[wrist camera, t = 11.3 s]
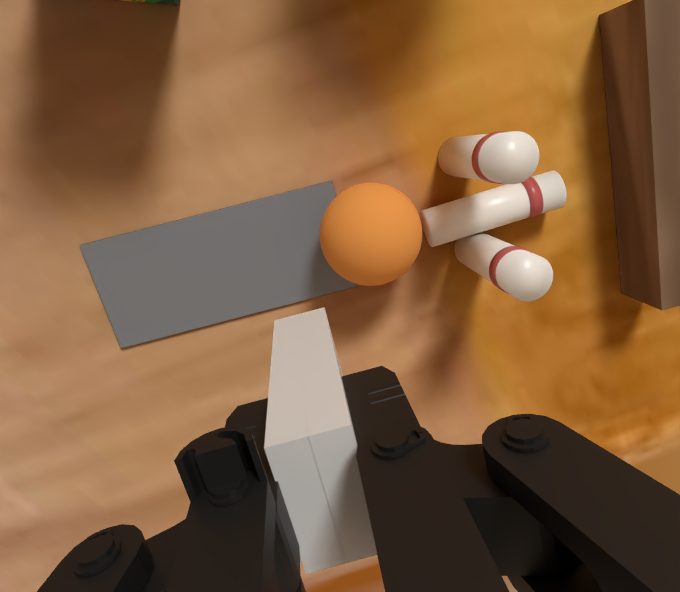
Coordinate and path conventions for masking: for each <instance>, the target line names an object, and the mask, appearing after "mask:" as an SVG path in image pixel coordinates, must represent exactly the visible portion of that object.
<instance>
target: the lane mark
mask: <svg viewBox="0 0 680 592" xmlns="http://www.w3.org/2000/svg"><path fill="white" fill-rule="evenodd" d="M335 197H336V195H335V191H334V186H333V182H332V181H328V182H325V183H321V184H317V185H313V186H309V187H305V188H301V189H297V190H293V191H290V192H286V193H282V194H278V195H274V196H270V197H266V198H262V199H259V200H255V201H251V202H247V203H243V204H239V205H235V206H231V207H227V208H224V209H220V210H216V211H212V212H208V213H204V214H200V215H196V216H193V217H189V218H185V219H181V220H177V221H173V222H169V223H165V224H161V225H158V226H154V227H150V228H146V229H142V230H138V231H134V232H130V233H126V234H123V235H119V236H115V237H111V238H107V239H103V240H99V241H95V242H92V243H88V244H84V245H80V248H81V250H82V253H83V255H84V258H85V260H86V263H87V265H88V268H89V270H90V273H91V275H92V278H93V280H94V283H95V285H96V288H97V290H98V293H99V295H100V297H101V300H102V302H103V305H104V307H105V310H106V312H107V315H108V317H109V320H110V322H111V325H112V327H113V330H114V332H115V335H116V337H117V340H118V342H119V344H120V347H121V348H124V347H128V346H132V345H136V344H139V343H143V342H147V341H151V340H155V339H158V338H162V337H166V336H170V335H174V334H177V333H181V332H185V331H189V330H193V329H196V328H200V327H204V326H208V325H212V324H215V323H219V322H223V321H227V320H231V319H234V318H238V317H242V316H246V315H250V314H253V313H257V312H261V311H265V310H269V309H272V308H276V307H280V306H284V305H288V304H291V303H295V302H299V301H303V300H307V299H310V298H314V297H318V296H322V295H326V294H329V293H333V292H337V291H341V290H345V289H348V288H352V287H356V286H358V285H357V284H356V283H352V282H350V281H348V280H346V279H344V278H343V277H341V276H340V275H339V274H337V273H336V272H335V271H334V270H333V269H332V267H331V266H330V265H329V263H328V262H327V260H326V258H325V256H324V254H323V251H322V248H321V244H320V225H321V221H322V218H323V215H324V213H325V211H326V209H327V207H328V206H329V204H330V203H331V201H332V200H333V199H334V198H335Z"/></svg>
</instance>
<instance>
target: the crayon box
mask: <svg viewBox="0 0 680 592" xmlns="http://www.w3.org/2000/svg"><path fill="white" fill-rule="evenodd" d="M120 1H132V2H145V3H157V4H171V5H180V0H120Z"/></svg>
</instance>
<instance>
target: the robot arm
mask: <svg viewBox="0 0 680 592" xmlns="http://www.w3.org/2000/svg"><path fill="white" fill-rule="evenodd" d="M174 462H175V464H176V467H177V469H178V472H179V474H180V477H181V479H182V482H183V484H184V487H185V489H186V492H187V494H188V497H189V499H190V502H191V503H190V506H189V510H188V514H187V517H186V519H185V520H183V521H182V522H180V523H178V524H176V525H175V526H173V527H171V528H169V529H167V530H165V531H163V532H161V533H159V534H157V535H155V536H153V537H151V538H149V539H147V540H145V539H144V536H143V534H142V532H141V530H139V529H138V528H137V527H135V526H134V525H123V524H121V525H117V526H113V527H109V528H106V529H103V530H101V531H99V532H98V533H97V532H96V533H94V534H93V535H91V536H89V537H88V538H87V539H85V540H84V541H83V542H81V543H80V544H78V545H77V546H76V547H74V548H73V549H72V550H71V551H70V552H69V553H68V554H67V556H66V557H65V558H64V559H63V560H62V561H61V562H60V563H59V564H58V566H57V567H56V568H55V569H54V571H53V572H52V573H51V575H50V576H49V577H48V578H47V580H46V581H45V582H44V583H43V585H42V586H41V587H40V588H39V590H38V591H37V592H306V591H305V588H304V585H303V582H302V579H301V576H300V557H301V560H302V563H303V566H304V569H305V572H306V574H309V573H312V572H316V571H320V570H323V569H327V568H330V567H334V566H338V565H341V564H345V563H348V562H352V561H356V560H359V559H363V558H366V557H370V556H374V555H378V560H379V564H380V569H381V573H382V578H383V583H384V587H385V592H509V590H508V588H507V586H506V584H505V582H504V580H503V578H502V576H508V578H509V580H510V582H511V583H512V585H513V586H514V588H515V589H516V590H517V591H518V592H680V495H679V494H677V493H676V492H674V491H673V490H671V489H669V488H668V487H666V486H664V485H663V484H661V483H659V482H658V481H656V480H654V479H653V478H651V477H650V476H648V475H646V474H645V473H643V472H641V471H640V470H638V469H636V468H635V467H633V466H631V465H630V464H628V463H626V462H625V461H623V460H621V459H620V458H618V457H617V456H615V455H613V454H612V453H610V452H608V451H607V450H605V449H603V448H602V447H600V446H598V445H597V444H595V443H593V442H592V441H590V440H588V439H587V438H585V437H584V436H582V435H580V434H579V433H577V432H575V431H574V430H572V429H570V428H569V427H567V426H565V425H564V424H562V423H560V422H558V421H556V420H554V419H551V418H549V417H546V416H541V415H534V414H521V415H519V414H518V415H512V416H508V417H505V418H502V419H499V420H497V421H496V422H494V423H492V424H491V425H489V426H488V427H487V429H486V430H485V432H484V433H483V435H482V444H474V445H451V444H446V443H441V442H439V441H436V440H434V439H433V437H432V436H431V434H430V433H429V432H428V431H427V430H426V429H425V428H422V427H420V425H419V422H418V420H417V418H416V416H415V414H414V412H413V410H412V408H411V406H410V404H409V402H408V399H407V397H406V395H405V394H404V391H403V389H402V387H401V386H400V383H399V381H398V379H397V376H396V374H395V373H394V372H392V371H390V370H389V369H387V368H385V367H383V366H380V367H376V368H372V369H368V370H365V371H361V372H357V373H353V374H350V375H346V376H343V375H342V371H341V367H340V363H339V360H338V356H337V352H336V348H335V345H334V341H333V337H332V333H331V330H330V326H329V322H328V319H327V315H326V311H325V307H324V308H320V309H316V310H312V311H308V312H305V313H301V314H297V315H293V316H289V317H286V318H282V319H278V320H275V322H274V334H273V346H272V358H271V370H270V382H269V394H268V398H266V399H263V400H259V401H255V402H251V403H248V404H244V405H240V406H238V407H237V408H236V409H235V410H234V411H233V413H232V414H231V415H230V416H229V417H228V419H227V420H226V425H225V428H220V429H217V430H214V431H211V432H209V433H206V434H204V435H202V436H200V437H199V438H197V439H195V440H193V441H192V442H190V443H189V444H188V445H187V446H186V447H185V448H183V449H182V450H181V451H180V453H179V454H178V456H177V457H176V459H175V460H174Z"/></svg>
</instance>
